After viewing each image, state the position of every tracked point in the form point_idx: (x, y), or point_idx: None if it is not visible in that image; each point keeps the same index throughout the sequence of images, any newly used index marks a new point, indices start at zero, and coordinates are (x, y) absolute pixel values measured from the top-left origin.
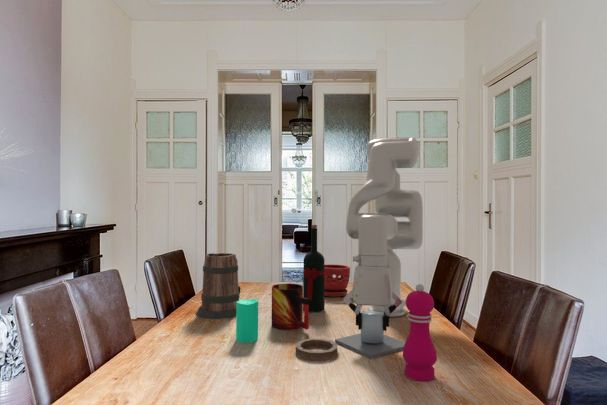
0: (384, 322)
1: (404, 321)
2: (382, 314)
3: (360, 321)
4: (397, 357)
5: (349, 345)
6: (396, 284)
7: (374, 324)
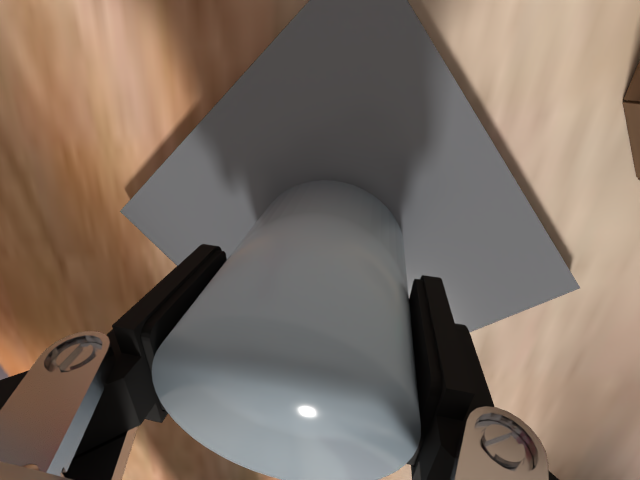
0: (182, 287)
1: (187, 466)
2: (162, 373)
3: (428, 326)
4: (184, 17)
5: (506, 173)
6: None
7: (282, 250)
